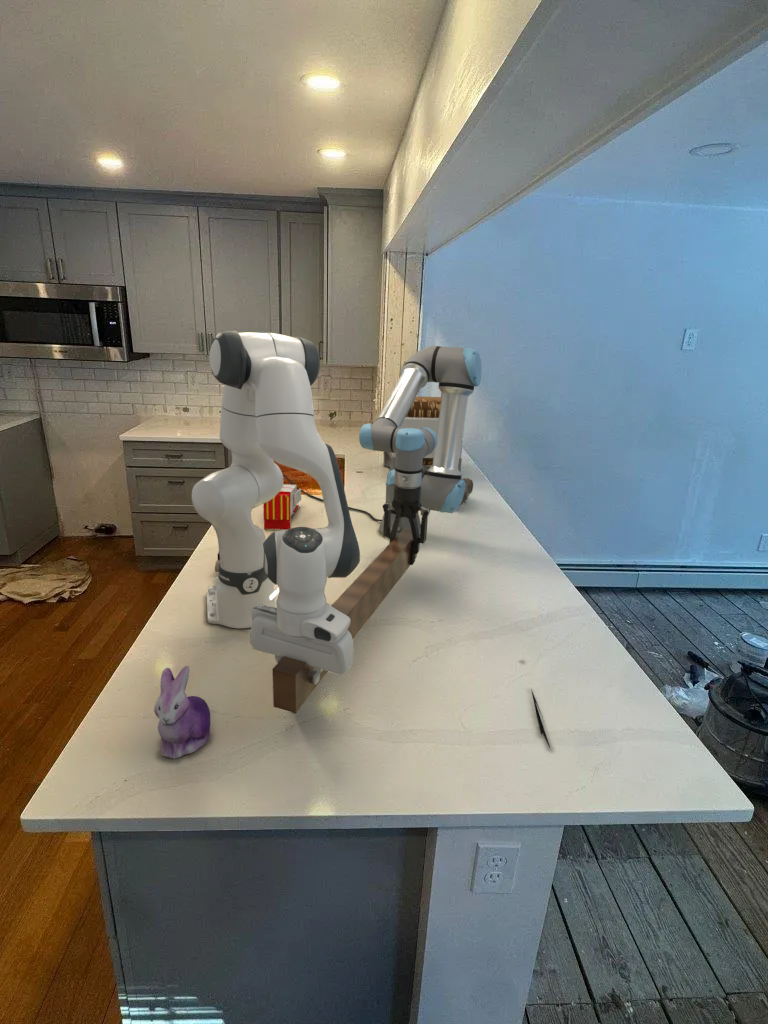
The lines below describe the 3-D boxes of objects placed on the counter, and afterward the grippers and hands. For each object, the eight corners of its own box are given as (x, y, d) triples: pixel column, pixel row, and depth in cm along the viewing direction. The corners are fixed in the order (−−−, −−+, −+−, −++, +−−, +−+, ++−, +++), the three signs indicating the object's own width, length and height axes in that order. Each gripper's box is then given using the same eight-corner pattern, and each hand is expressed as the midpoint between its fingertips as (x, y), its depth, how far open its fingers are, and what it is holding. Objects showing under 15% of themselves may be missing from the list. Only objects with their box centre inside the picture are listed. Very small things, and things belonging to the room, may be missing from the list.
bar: (401, 554, 171) (403, 528, 168) (416, 557, 169) (418, 531, 167) (273, 706, 105) (272, 668, 102) (295, 713, 103) (295, 675, 100)
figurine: (162, 769, 95) (153, 695, 90) (154, 730, 104) (146, 661, 99) (219, 752, 99) (214, 680, 94) (207, 716, 108) (202, 648, 103)
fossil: (437, 484, 244) (466, 465, 239) (450, 500, 247) (479, 482, 242) (436, 505, 224) (468, 485, 219) (450, 523, 227) (482, 504, 222)
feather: (522, 665, 130) (528, 659, 129) (549, 752, 103) (556, 745, 103) (516, 662, 130) (522, 655, 129) (542, 747, 103) (549, 740, 103)
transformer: (382, 463, 289) (386, 382, 275) (445, 464, 293) (451, 384, 279) (390, 482, 257) (394, 392, 243) (460, 483, 261) (468, 394, 247)
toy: (303, 479, 223) (293, 493, 194) (302, 513, 226) (293, 531, 196) (272, 479, 223) (257, 492, 193) (272, 512, 225) (258, 530, 196)
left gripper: (242, 609, 104) (243, 672, 109) (344, 638, 98) (341, 703, 103) (260, 594, 109) (261, 654, 114) (358, 620, 103) (354, 682, 108)
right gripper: (372, 484, 156) (370, 561, 164) (435, 493, 150) (429, 572, 159) (381, 477, 162) (378, 551, 171) (442, 485, 157) (436, 561, 165)
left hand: (300, 677), depth 108 cm, fingers closed on bar, 5 cm apart
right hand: (403, 561), depth 165 cm, fingers closed on bar, 5 cm apart
